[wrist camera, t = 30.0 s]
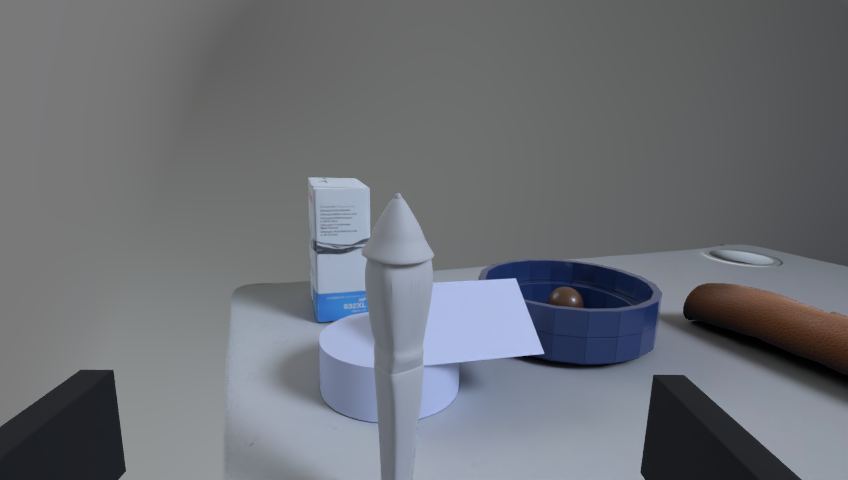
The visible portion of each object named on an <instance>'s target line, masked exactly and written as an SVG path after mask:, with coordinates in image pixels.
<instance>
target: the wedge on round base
mask: <svg viewBox="0 0 848 480" xmlns="http://www.w3.org/2000/svg"><path fill="white" fill-rule="evenodd" d="M374 345H375V340H374V337H373V334H372V330H371V324H370V318H369V312H365V313H359V314H355V315H351V316H347V317H344V318H342V319H339V320H337V321H335V322H333V323H331V324H330V325H328V326H327V327H326V328H325V329H324V330H323V331H322V332H321V334H320V337H319V361H320V391H321V395H322V398H323V399H324V401H325V402H326V403H327V404H328V405H329V406H330V407H331V408H333V409H334V410H336V411H337V412H339V413H341V414H343V415H346V416H348V417H351V418H355V419H359V420H363V421H369V422H378V413H377V400H376V387H375V374H374V361H375V359H374ZM423 350H424V354H423V366H424V373H423V382H422V398H421V406H420V414H419V419H421V418H425V417H427V416H430V415H433V414H435V413H437V412H439V411H441V410H443V409H444V408H446V407H447V406H448V405H449V404H450V403H452V401H453V400H454V399H455V398H456V396H457V393H458V389H459V371H460V362H467V361H477V360H487V359H497V358H507V357H517V356H527V355H537V354H544V351H543V349H542V346H541V343H540V341H539V338H538V336H537V333H536V330H535V328H534V325H533V322H532V320H531V317H530V314H529V312H528V309H527V307H526V304H525V301H524V299H523V296H522V293H521V291H520V288H519V285H518V283H517V280H516V278H513V279H495V280H477V281H459V282H440V283H433V287H432V295H431V302H430V309H429V314H428V320H427V324H426V330H425V336H424V341H423Z"/></svg>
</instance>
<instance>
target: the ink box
mask: <svg viewBox="0 0 848 480" xmlns="http://www.w3.org/2000/svg"><path fill="white" fill-rule="evenodd" d="M308 182H309V237H310V238H309V239H310V275H311V297H312V301H313V306H314V311H315V316H316V320H317V322H328V321H337V320H339V319H342V318H344V317H347V316H351V315H355V314H359V313H365V312H369V311H368V304H367V297H366V289H365V267H366V262H367V258H365V257H364V256H362V248H363V247H364V246H365V244H366V243H367V241H368V240H369V238H370V188H369V187H367V186H365V185H364V184H363V183H361V182H360V181H359V180H357V179H356V178H308Z"/></svg>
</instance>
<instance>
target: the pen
mask: <svg viewBox="0 0 848 480" xmlns="http://www.w3.org/2000/svg"><path fill="white" fill-rule="evenodd" d="M362 256H364V257H365V258H367V262H366V267H365V289H366V297H367V304H368V311H369V318H370V324H371V330H372V334H373V337H374V340H375V345H374V359H375V361H374V374H375V387H376V400H377V413H378V427H379V443H380V461H381V480H413V471H414V462H415V452H416V441H417V430H418V422H419V414H420V406H421V398H422V382H423V373H424V366H423V354H424V350H423V341H424V336H425V330H426V324H427V320H428V314H429V309H430V302H431V295H432V287H433V271H432V261H431V258H433V257H434V254H433V252H432V250H431V249H430V247H429V245H428V244H427V242H426V240H425V238H424V235H423V232H422V230H421V228H420V226H419V224H418V222H417V221H416V218H415V217H414V215H413V213H412V212H411V210H410V208H409V207H408V205H407V204H406V202H405V200H404V199H402V197H401V194H400V193H397V194H396V195H395V198H393V199H392V200H391V201H390V203H389V204H388V206H387V207H386V209H385V210H384V212H383V213H382V215H381V216H380V218H379V220H378V222H377V223H376V225H375V227H374V229H373V232H372V234H371V236H370V238H369V240H368V241H367V243H366V244H365V246H364V247H363V248H362Z"/></svg>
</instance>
